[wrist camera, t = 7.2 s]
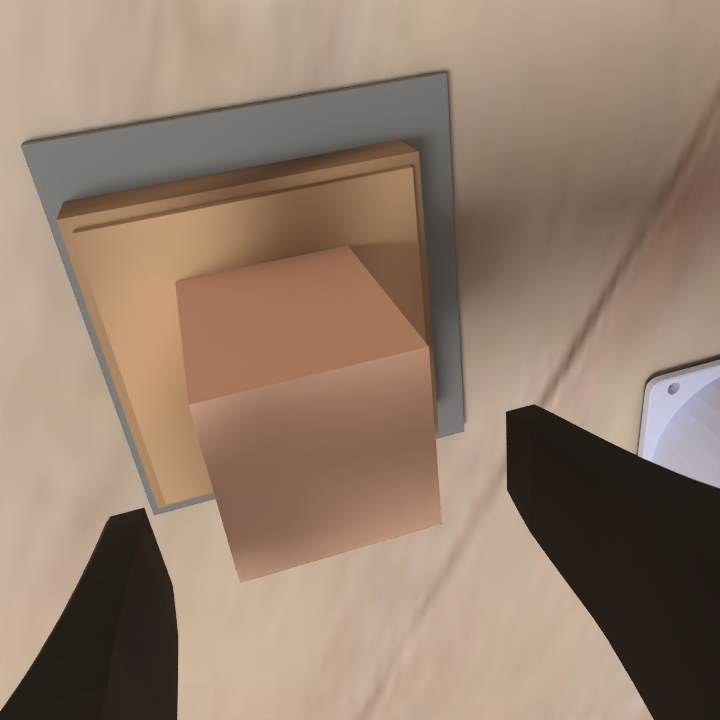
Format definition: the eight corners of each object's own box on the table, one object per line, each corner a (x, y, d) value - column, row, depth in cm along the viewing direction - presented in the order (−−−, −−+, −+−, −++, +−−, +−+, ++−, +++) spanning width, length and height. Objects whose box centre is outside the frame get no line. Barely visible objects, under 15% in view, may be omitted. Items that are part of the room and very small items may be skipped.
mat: (441, 71, 19) (446, 73, 18) (459, 425, 25) (464, 431, 24) (23, 142, 17) (20, 145, 16) (153, 507, 23) (154, 515, 22)
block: (347, 245, 18) (428, 347, 13) (366, 389, 20) (441, 524, 15) (175, 281, 17) (188, 404, 12) (214, 427, 19) (240, 582, 14)
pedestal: (394, 137, 19) (423, 153, 17) (418, 401, 24) (442, 437, 22) (64, 197, 18) (54, 223, 16) (156, 468, 22) (158, 514, 20)
